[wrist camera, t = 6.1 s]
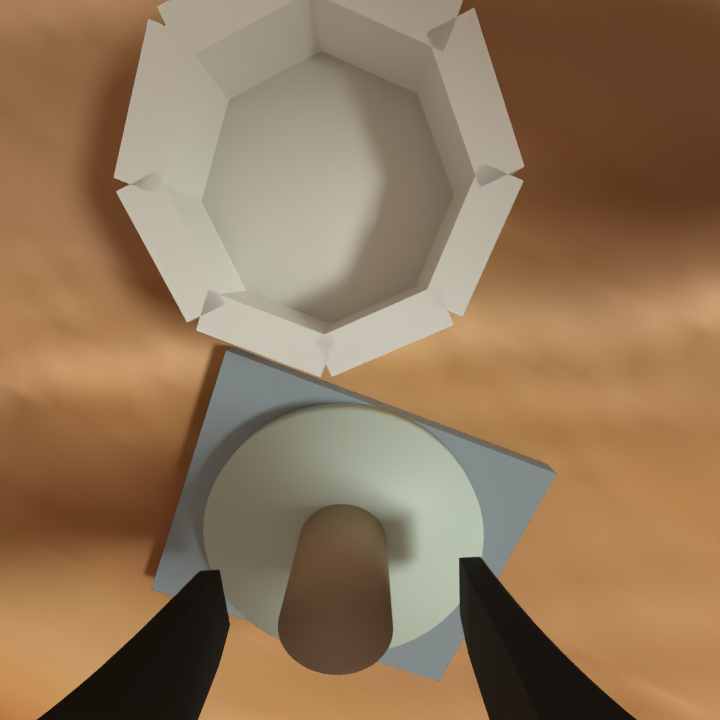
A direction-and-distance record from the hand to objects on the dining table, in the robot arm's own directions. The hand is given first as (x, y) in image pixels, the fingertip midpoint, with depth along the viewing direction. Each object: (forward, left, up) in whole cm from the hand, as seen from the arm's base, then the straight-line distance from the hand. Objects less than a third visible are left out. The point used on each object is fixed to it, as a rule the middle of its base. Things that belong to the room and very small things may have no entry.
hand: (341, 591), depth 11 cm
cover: (0, 0, -3) cm, 3 cm away
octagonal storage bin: (+5, -10, -3) cm, 12 cm away
